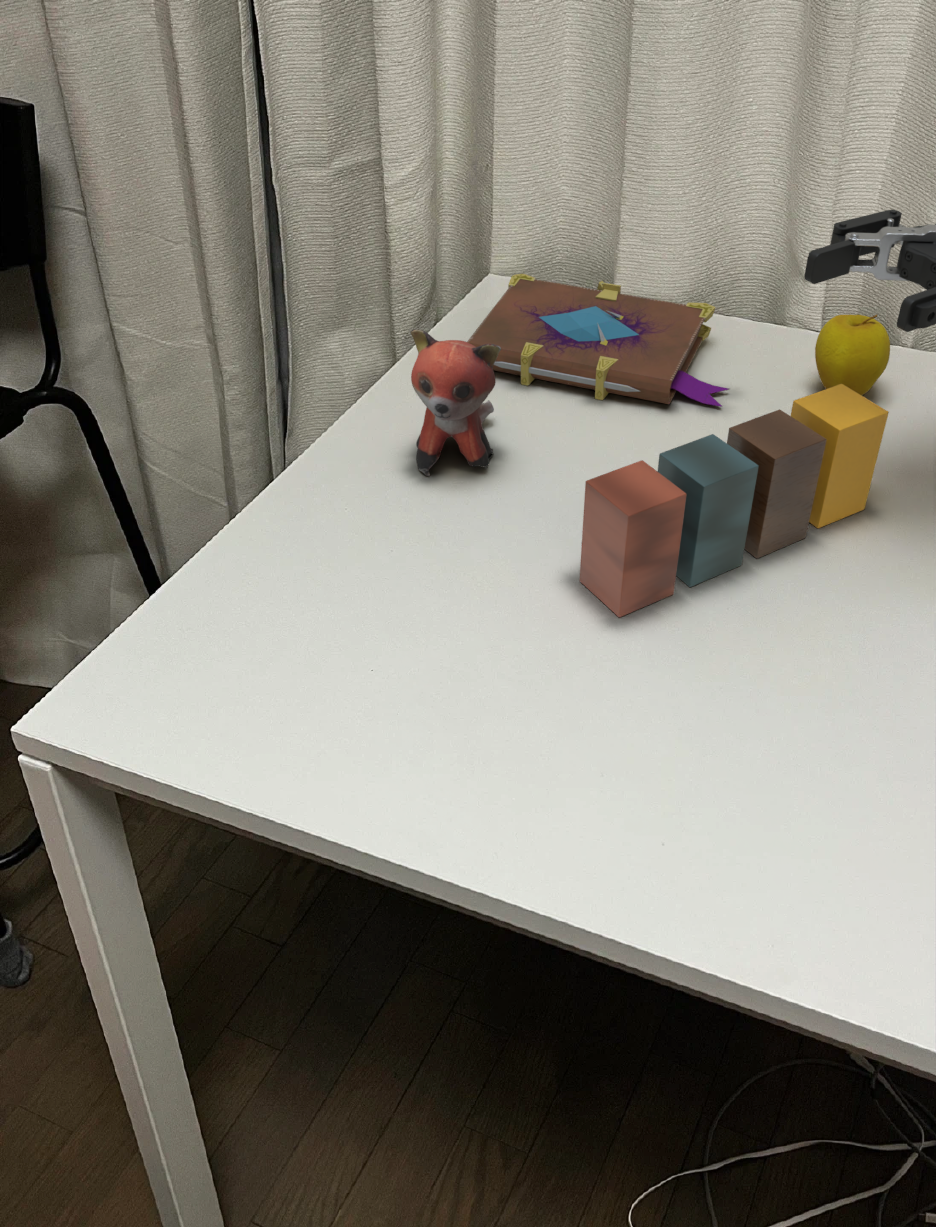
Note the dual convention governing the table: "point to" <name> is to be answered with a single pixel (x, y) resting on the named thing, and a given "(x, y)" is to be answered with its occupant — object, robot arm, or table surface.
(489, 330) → the book
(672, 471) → the three coloured blocks
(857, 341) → the apple
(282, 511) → the table surface
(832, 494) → the block
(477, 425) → the stuffed fox
